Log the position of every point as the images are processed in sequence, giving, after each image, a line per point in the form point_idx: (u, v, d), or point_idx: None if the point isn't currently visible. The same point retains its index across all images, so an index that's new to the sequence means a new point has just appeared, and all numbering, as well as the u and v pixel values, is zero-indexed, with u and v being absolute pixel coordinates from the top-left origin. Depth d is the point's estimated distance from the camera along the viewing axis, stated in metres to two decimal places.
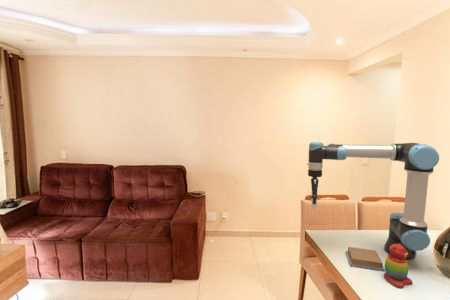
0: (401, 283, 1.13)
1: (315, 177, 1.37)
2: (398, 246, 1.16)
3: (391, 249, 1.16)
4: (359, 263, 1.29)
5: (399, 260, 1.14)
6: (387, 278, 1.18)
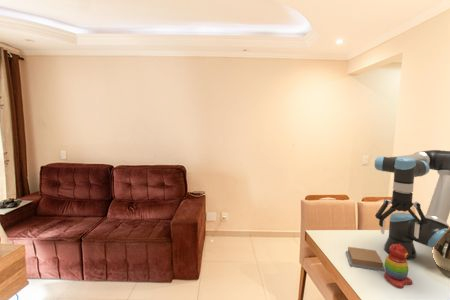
0: (401, 283, 1.13)
1: (392, 198, 1.15)
2: (398, 246, 1.16)
3: (391, 249, 1.16)
4: (359, 263, 1.29)
5: (399, 260, 1.14)
6: (387, 278, 1.18)
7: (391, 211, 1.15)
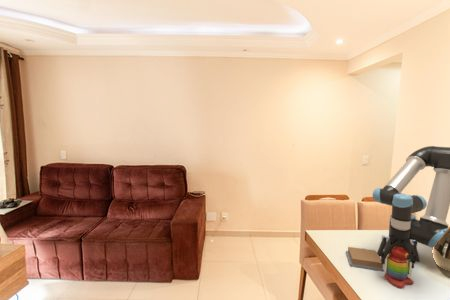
0: (401, 283, 1.13)
1: (389, 234, 1.17)
2: (398, 246, 1.16)
3: (392, 249, 1.16)
4: (359, 263, 1.29)
5: (400, 260, 1.14)
6: (387, 278, 1.17)
7: (391, 248, 1.16)
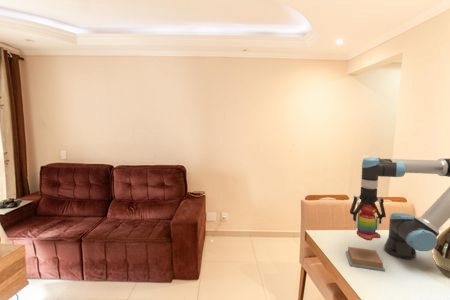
0: (369, 236, 1.27)
1: None
2: (367, 204, 1.29)
3: (362, 207, 1.30)
4: (359, 263, 1.29)
5: (368, 216, 1.28)
6: (358, 233, 1.31)
7: (361, 206, 1.30)
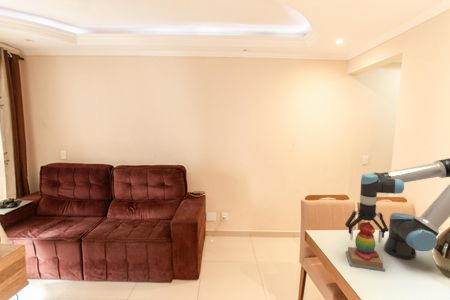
0: (368, 256, 1.28)
1: (359, 209, 1.32)
2: (366, 224, 1.31)
3: (360, 226, 1.32)
4: (359, 263, 1.29)
5: (367, 236, 1.29)
6: (357, 252, 1.33)
7: (358, 220, 1.31)
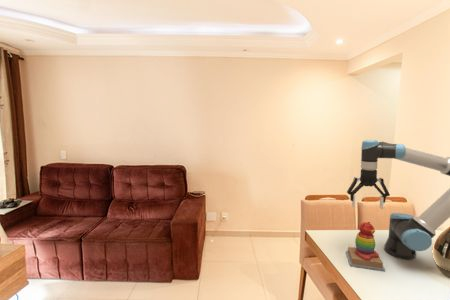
0: (368, 256, 1.28)
1: None
2: (366, 224, 1.31)
3: (360, 226, 1.31)
4: (359, 263, 1.29)
5: (367, 236, 1.29)
6: (357, 252, 1.33)
7: (360, 187, 1.32)
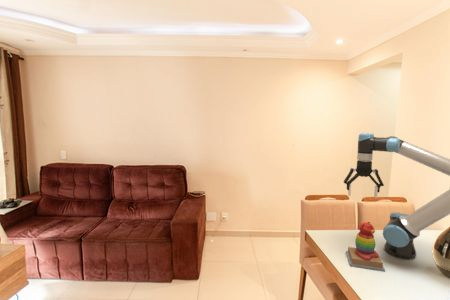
0: (368, 256, 1.28)
1: None
2: (366, 224, 1.31)
3: (360, 226, 1.31)
4: (359, 263, 1.29)
5: (367, 236, 1.29)
6: (357, 252, 1.33)
7: (355, 177, 1.41)
